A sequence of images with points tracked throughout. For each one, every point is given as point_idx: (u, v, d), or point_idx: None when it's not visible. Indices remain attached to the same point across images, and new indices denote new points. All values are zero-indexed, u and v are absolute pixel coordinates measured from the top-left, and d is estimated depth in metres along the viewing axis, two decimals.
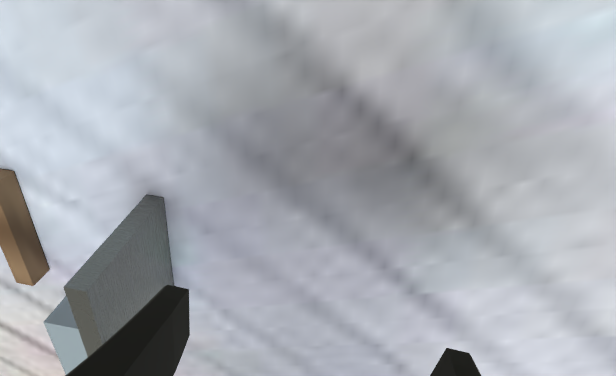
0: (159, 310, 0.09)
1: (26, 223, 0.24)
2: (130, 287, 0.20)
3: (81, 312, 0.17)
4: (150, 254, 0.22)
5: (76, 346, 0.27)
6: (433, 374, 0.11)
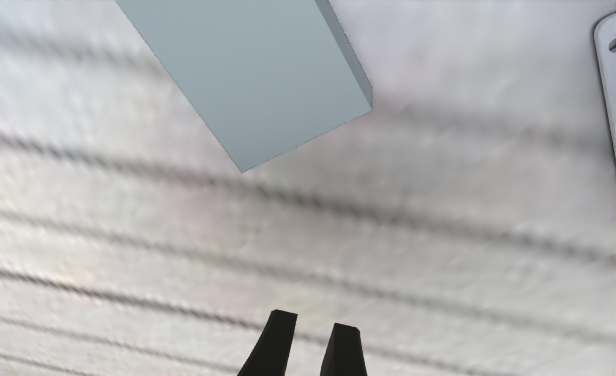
0: (279, 337, 0.09)
1: None
2: None
3: None
4: None
5: (185, 20, 0.13)
6: (326, 350, 0.11)
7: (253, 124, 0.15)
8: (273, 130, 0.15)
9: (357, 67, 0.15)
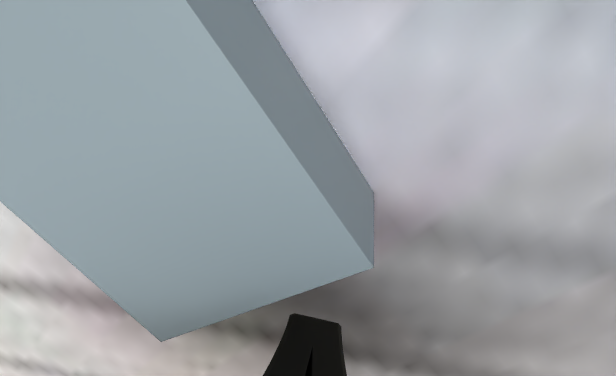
0: (299, 342, 0.09)
1: None
2: None
3: None
4: None
5: (4, 118, 0.07)
6: None
7: (165, 280, 0.09)
8: (200, 289, 0.09)
9: (345, 176, 0.08)
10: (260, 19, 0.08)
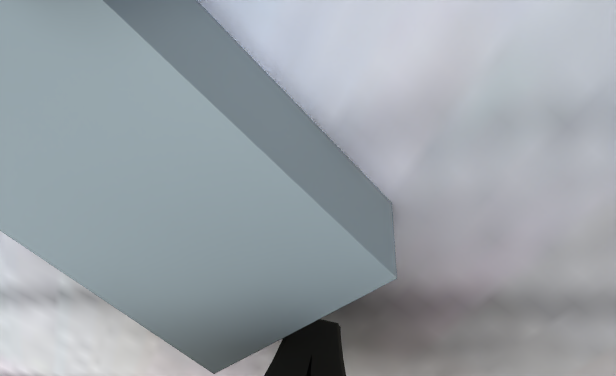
0: (301, 343, 0.09)
1: None
2: None
3: None
4: None
5: (45, 195, 0.08)
6: None
7: (206, 316, 0.09)
8: (239, 320, 0.09)
9: (357, 192, 0.09)
10: (251, 62, 0.08)
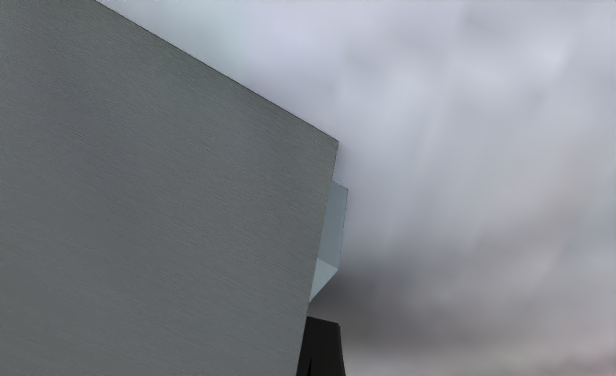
0: None
1: None
2: None
3: None
4: (44, 31, 0.06)
5: None
6: None
7: None
8: None
9: None
10: None
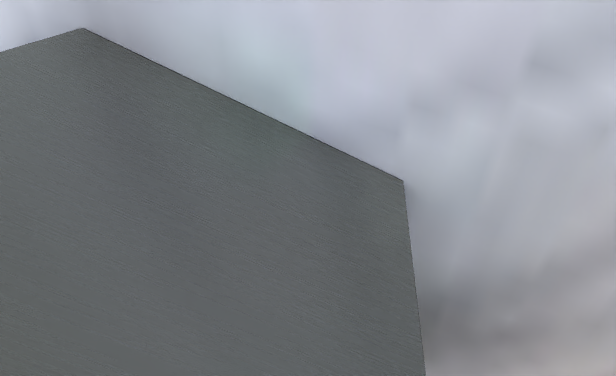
0: None
1: None
2: (77, 181, 0.05)
3: None
4: (140, 112, 0.07)
5: None
6: None
7: None
8: None
9: None
10: None
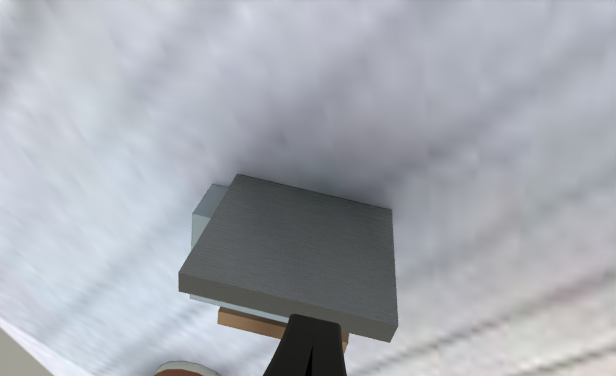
0: (299, 342, 0.09)
1: None
2: (269, 240, 0.16)
3: (218, 292, 0.14)
4: (275, 208, 0.18)
5: None
6: None
7: None
8: None
9: None
10: None
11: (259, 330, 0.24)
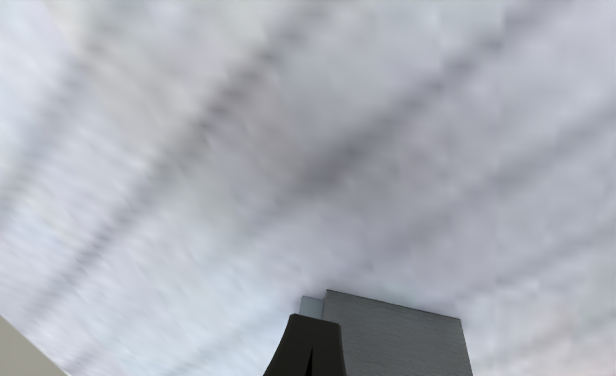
0: (299, 342, 0.09)
1: None
2: (371, 365, 0.19)
3: None
4: (367, 328, 0.21)
5: None
6: None
7: None
8: None
9: None
10: None
11: None
